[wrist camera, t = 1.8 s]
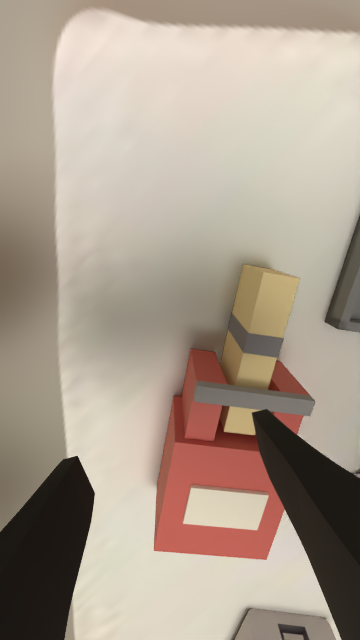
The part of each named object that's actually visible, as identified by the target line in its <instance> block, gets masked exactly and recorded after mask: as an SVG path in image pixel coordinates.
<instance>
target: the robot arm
mask: <svg viewBox="0 0 360 640" xmlns="http://www.w3.org/2000/svg"><path fill="white" fill-rule="evenodd" d="M252 418H253V422H254V427H255V432H256V437H257V442H258V447H259V452H260V455H261V458H262V460H263V463H264V466H265V468H266V471H267V473H268V476H269V478H270V480H271V482H272V485H273V487H274V489H275V491H276V493H277V495H278V497H279V499H280V501H281V503H282V504H283V506H284V508H285V510H286V512H287V514H288V516H289V518H290V520H291V522H292V524H293V526H294V528H295V530H296V532H297V534H298V536H299V538H300V540H301V542H302V545H303V547H304V549H305V551H306V553H307V555H308V558H309V560H310V563H311V565H312V568H313V570H314V572H315V575H316V577H317V580H318V582H319V585H320V587H321V590H322V592H323V594H324V597H325V599H326V602H327V604H328V607H329V609H330V612H331V614H332V617H333V619H334V622H335V624H336V627H337V629H338V632H339V634H340V637H341V639H342V640H360V473H359V474H357V475H354V474H352V473H350V472H349V471H347V470H345V469H344V468H342V467H341V466H339V465H338V464H336V463H335V462H333V461H332V460H330V459H329V458H327V457H326V456H324V455H323V454H322V453H320V452H319V451H317V450H316V449H315V448H313V447H312V446H311V445H309V444H308V443H307V442H305V441H304V440H303V439H302V438H300V437H299V436H298V435H296V434H295V433H294V432H293V431H292V430H290V429H289V428H288V427H287V426H286V425H285V424H283V423H282V422H281V421H280V420H279V419H278V418H277V417H276V416H275V415H274V414H272V413H271V412H270V411H269V410H268V409H264V410H260V411H256V412H252ZM94 496H95V493H94V490H93V488H92V486H91V484H90V482H89V480H88V477H87V475H86V473H85V471H84V469H83V467H82V465H81V462H80V460H79V458H78V456H75V457H71V458H67V459H63V460H62V461H61V462H60V463H59V464H58V466H57V467H56V468H55V469H54V470H53V471H52V473H51V474H50V475H49V476H48V477H47V479H46V480H45V481H44V482H43V483H42V485H41V486H40V487H39V488H38V489H37V491H36V492H35V493H34V494H33V495H32V496H31V498H30V499H29V500H28V501H27V502H26V504H25V505H24V506H23V507H22V508H21V509H20V511H19V512H18V513H17V514H16V515H15V516H14V517H13V518H12V520H11V521H10V522H9V523H8V524H7V525H6V526H5V527H4V528H3V530H2V531H1V532H0V640H64V638H65V632H66V626H67V621H68V615H69V609H70V605H71V600H72V596H73V592H74V588H75V584H76V580H77V576H78V572H79V568H80V564H81V560H82V556H83V552H84V548H85V545H86V540H87V536H88V532H89V528H90V524H91V519H92V512H93V504H94Z"/></svg>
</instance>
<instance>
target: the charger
mask: <svg viewBox="0 0 360 640" xmlns="http://www.w3.org/2000/svg"><path fill="white" fill-rule="evenodd" d="M235 640H336V639H335V636H334V634H333V631H332V629H331V626H330V625H329V623H328V622H327V621H326V620H325V619H324V618H322V617H316V616H308V615H300V614H292V613H284V612H276V611H268V610H260V609H250V610H249V611H248V613H247V615H246V617H245V619H244V621H243V623H242V625H241V627H240V629H239V632H238V634H237V636H236V638H235Z"/></svg>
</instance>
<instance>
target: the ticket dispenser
mask: <svg viewBox="0 0 360 640" xmlns="http://www.w3.org/2000/svg"><path fill="white" fill-rule="evenodd" d="M314 404H315V400H314V399H313V398H312V397H311V396H310V395H309V394H308V392H307V391H306V390H305V389H304V388H303V387H302V386H301V384H300V383H299V382H298V381H297V380H296V379H295V378H294V376H293V375H292V374H291V373H290V372H289V371H288V370H287V369H286V367H285V366H284V365H283V364H282V363H281V362H280V361H276V363H275V366H274V370H273V373H272V377H271V380H270V384H269V387H268V390H265V389H257V388H250V387H242V386H235V385H227V382H226V380H225V377H224V374H223V372H222V369H221V367H220V364H219V362H218V359H217V356H216V354H215V352H210V351H203V350H195V349H190V355H189V360H188V365H187V370H186V375H185V381H184V386H183V391H182V396H181V397H179V396H174V397H173V402H172V407H171V413H170V418H169V424H168V429H167V435H166V440H165V446H164V451H163V457H162V462H161V468H160V473H159V479H158V484H157V495H156V516H155V536H154V551H163V552H176V553H188V554H201V555H213V556H226V557H239V558H251V559H264V560H266V559H267V556H268V554H269V551H270V548H271V545H272V543H273V540H274V537H275V534H276V531H277V529H278V526H279V523H280V520H281V517H282V515H283V512H284V509H285V508H284V506H283V504H282V503H281V501H280V499H279V497H278V495H277V493H276V491H275V489H274V487H273V485H272V482H271V480H270V478H269V476H268V473H267V471H266V468H265V466H264V463H263V460H262V458H261V455H260V452H259V447H258V442H257V437H256V432H255V435H248V434H240V433H231V432H224V431H223V427H222V424H221V420H220V413H221V409H222V405H224V406H232V407H240V408H248V409H256V410H264V409H268V410H269V411H270V412H271V413H272V414H274V415H275V416H276V417H277V418H278V419H279V420H280V421H281V422H282V423H283V424H285V425H286V426H287V427H288V428H289V429H290V430H292V431H293V432H294V433H295V434H296V435H297V433H298V430H299V427H300V424H301V421H302V418H303V415H304V416H310V415H311V412H312V409H313V406H314Z"/></svg>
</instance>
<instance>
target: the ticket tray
mask: <svg viewBox="0 0 360 640" xmlns="http://www.w3.org/2000/svg"><path fill="white" fill-rule="evenodd" d="M325 322H326V323H328V324H330V325H331V326H333V327H335V328H337V329H341V330H347V331H354V332H360V217H359V220H358V223H357V226H356V229H355V232H354V235H353V238H352V241H351V244H350V247H349V250H348V253H347V256H346V259H345V262H344V265H343V268H342V271H341V274H340V277H339V280H338V283H337V286H336V289H335V292H334V295H333V298H332V302H331V305H330V308H329V311H328V314H327V317H326V320H325Z"/></svg>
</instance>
